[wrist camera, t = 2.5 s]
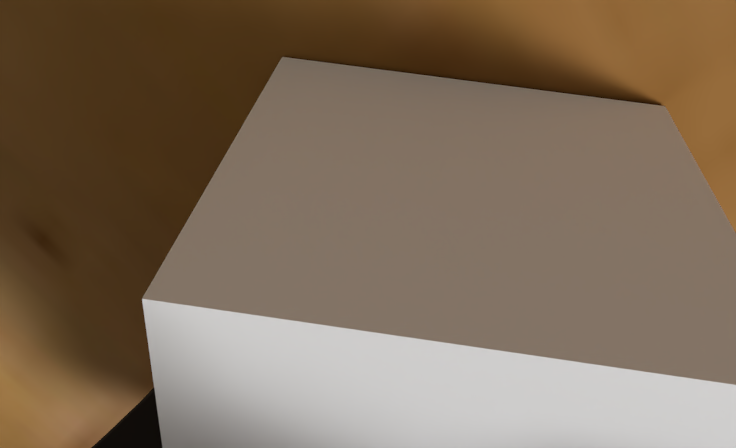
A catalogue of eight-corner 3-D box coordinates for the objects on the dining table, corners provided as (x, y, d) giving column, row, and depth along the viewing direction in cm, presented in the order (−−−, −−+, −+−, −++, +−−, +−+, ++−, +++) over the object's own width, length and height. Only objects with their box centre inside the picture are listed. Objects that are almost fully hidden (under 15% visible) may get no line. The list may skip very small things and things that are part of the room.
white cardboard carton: (282, 56, 11) (142, 298, 6) (665, 106, 11) (826, 398, 6) (275, 441, 17) (200, 722, 12) (526, 479, 17) (552, 782, 12)
